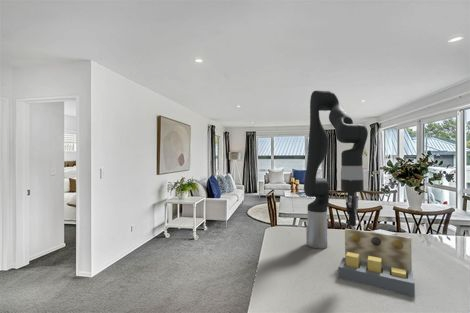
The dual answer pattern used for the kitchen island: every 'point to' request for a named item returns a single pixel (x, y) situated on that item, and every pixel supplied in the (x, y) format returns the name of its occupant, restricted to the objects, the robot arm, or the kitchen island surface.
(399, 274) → the button right
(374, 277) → the board
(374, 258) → the button mid
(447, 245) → the kitchen island surface
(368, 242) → the card
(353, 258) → the button left
